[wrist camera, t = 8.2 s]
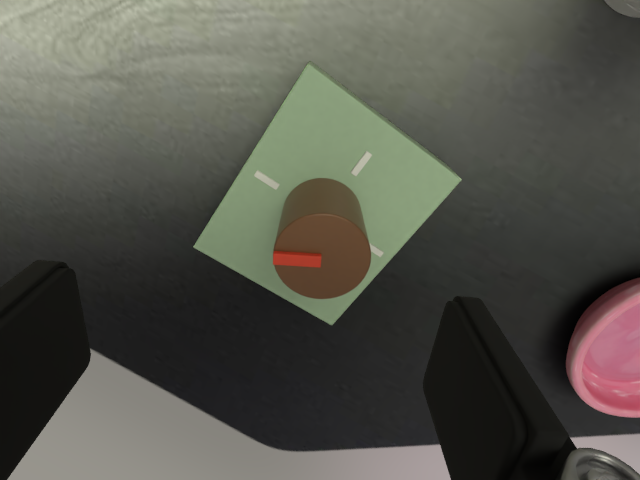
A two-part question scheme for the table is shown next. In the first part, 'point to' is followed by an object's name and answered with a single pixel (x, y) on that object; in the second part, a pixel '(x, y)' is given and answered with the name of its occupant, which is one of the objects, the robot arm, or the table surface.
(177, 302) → the table surface
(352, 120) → the panel
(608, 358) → the saucer
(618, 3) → the cup
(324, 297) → the knob
